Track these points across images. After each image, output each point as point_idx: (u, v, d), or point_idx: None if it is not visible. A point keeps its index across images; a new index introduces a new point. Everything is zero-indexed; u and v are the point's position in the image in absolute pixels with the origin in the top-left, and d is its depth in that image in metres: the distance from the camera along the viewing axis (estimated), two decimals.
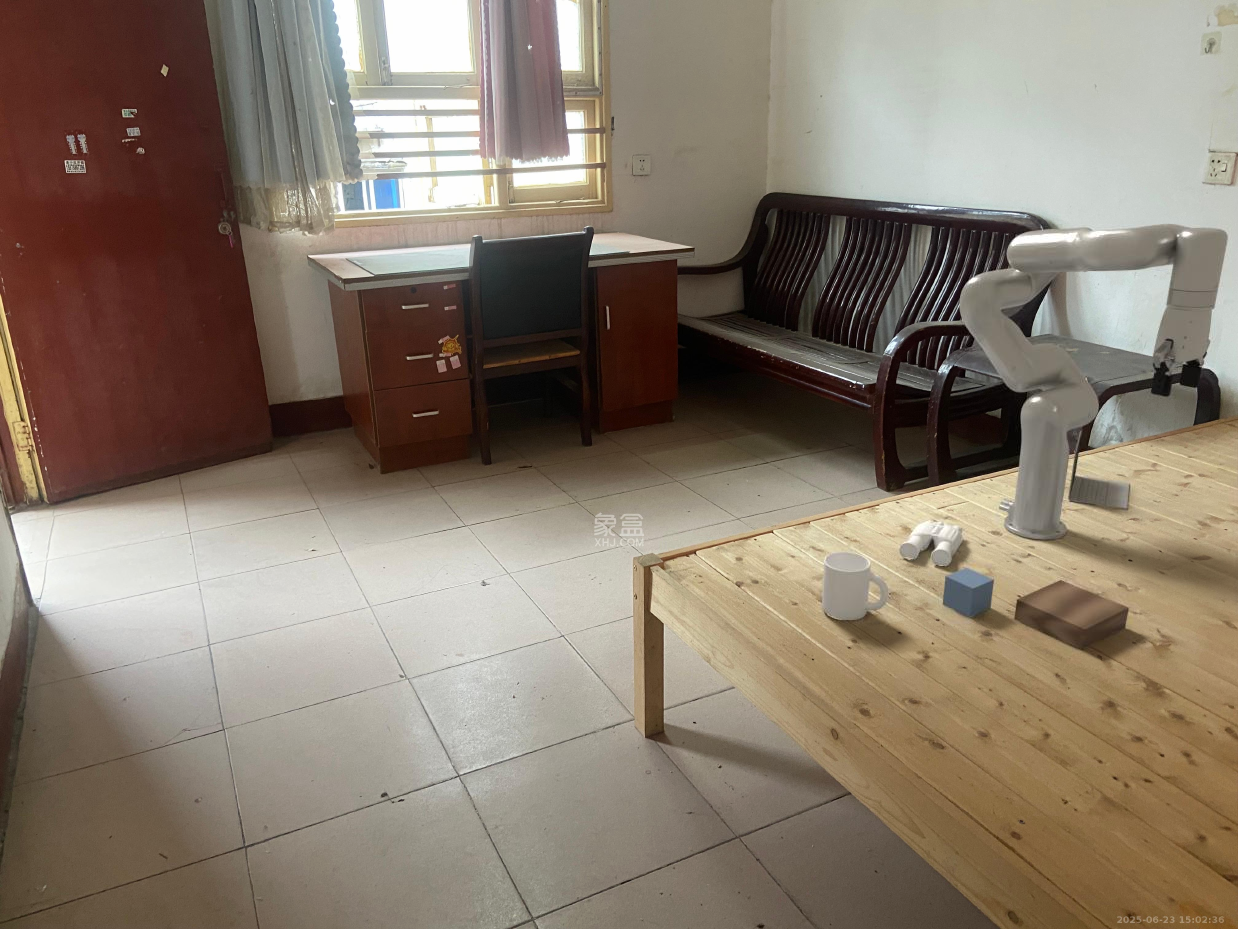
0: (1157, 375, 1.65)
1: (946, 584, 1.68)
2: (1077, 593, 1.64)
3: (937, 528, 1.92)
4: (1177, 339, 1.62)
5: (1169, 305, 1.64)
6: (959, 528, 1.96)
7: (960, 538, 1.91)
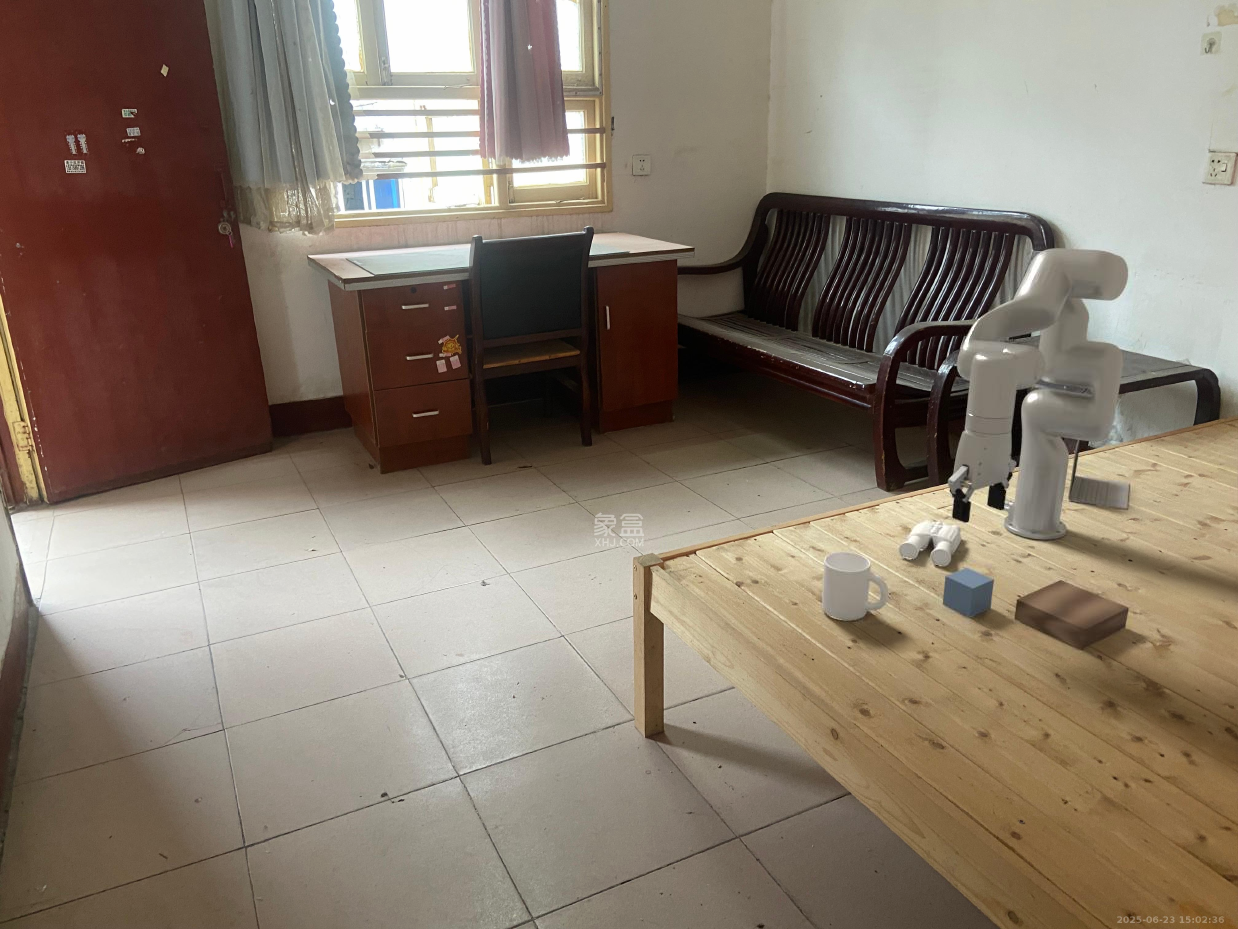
0: (956, 500, 1.59)
1: (946, 584, 1.68)
2: (1077, 593, 1.64)
3: (936, 528, 1.92)
4: (972, 465, 1.56)
5: (966, 429, 1.58)
6: (958, 528, 1.96)
7: (959, 538, 1.91)
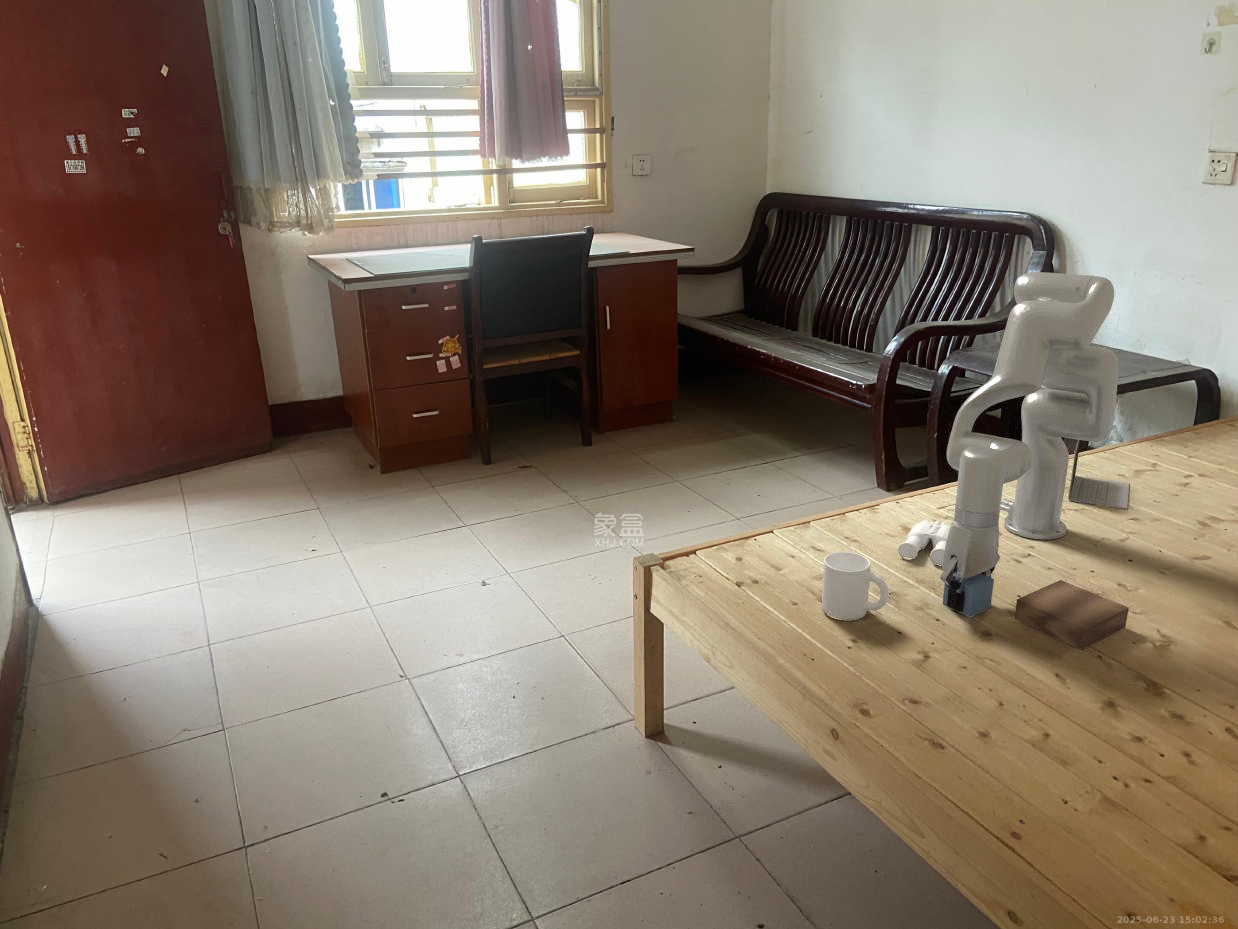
0: (950, 591, 1.66)
1: None
2: (1077, 593, 1.64)
3: (935, 528, 1.92)
4: (960, 557, 1.62)
5: (955, 521, 1.63)
6: None
7: None
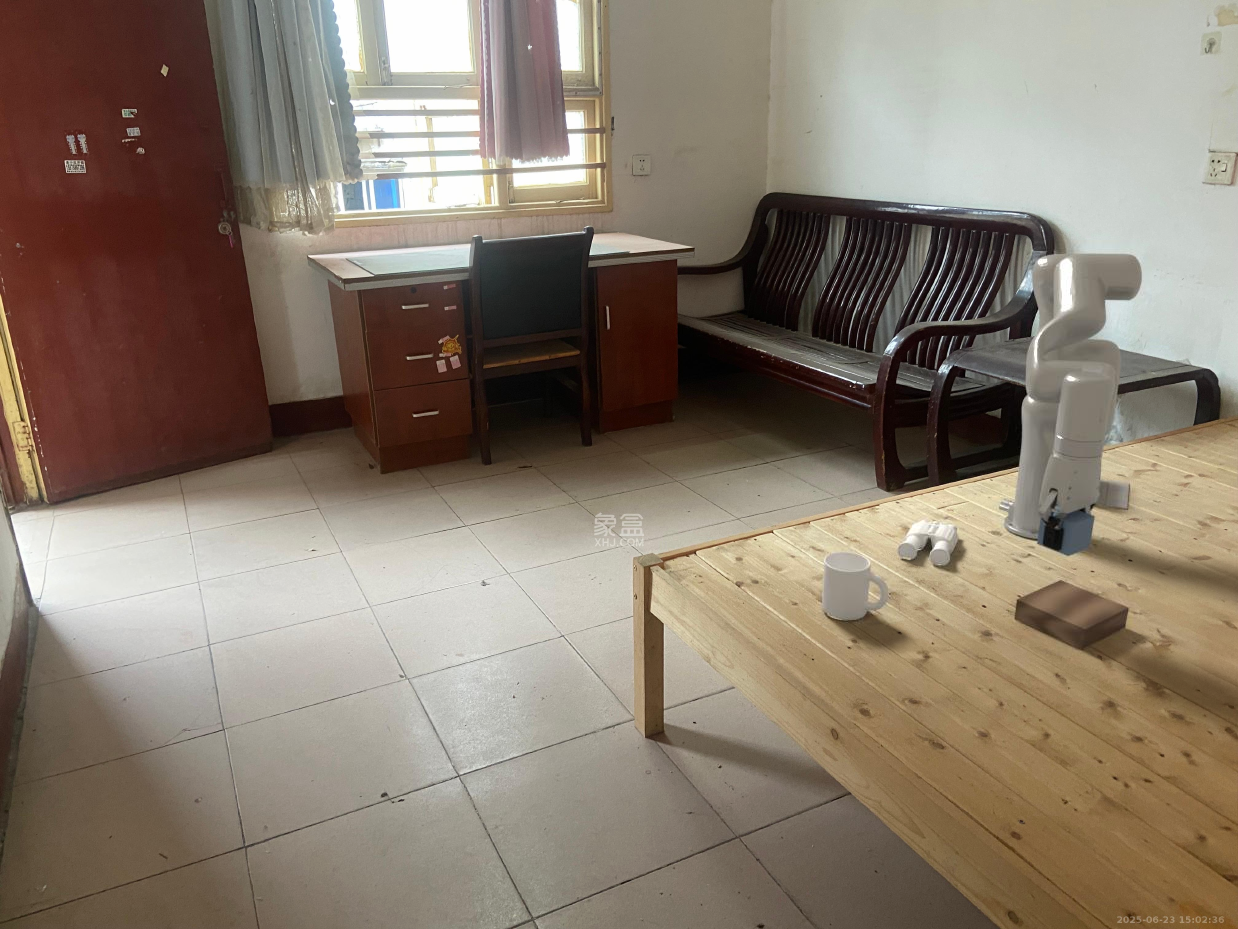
0: (1047, 528, 1.55)
1: (1042, 521, 1.58)
2: (1077, 593, 1.64)
3: (933, 527, 1.93)
4: (1061, 489, 1.51)
5: (1054, 452, 1.53)
6: (954, 527, 1.96)
7: (956, 537, 1.92)
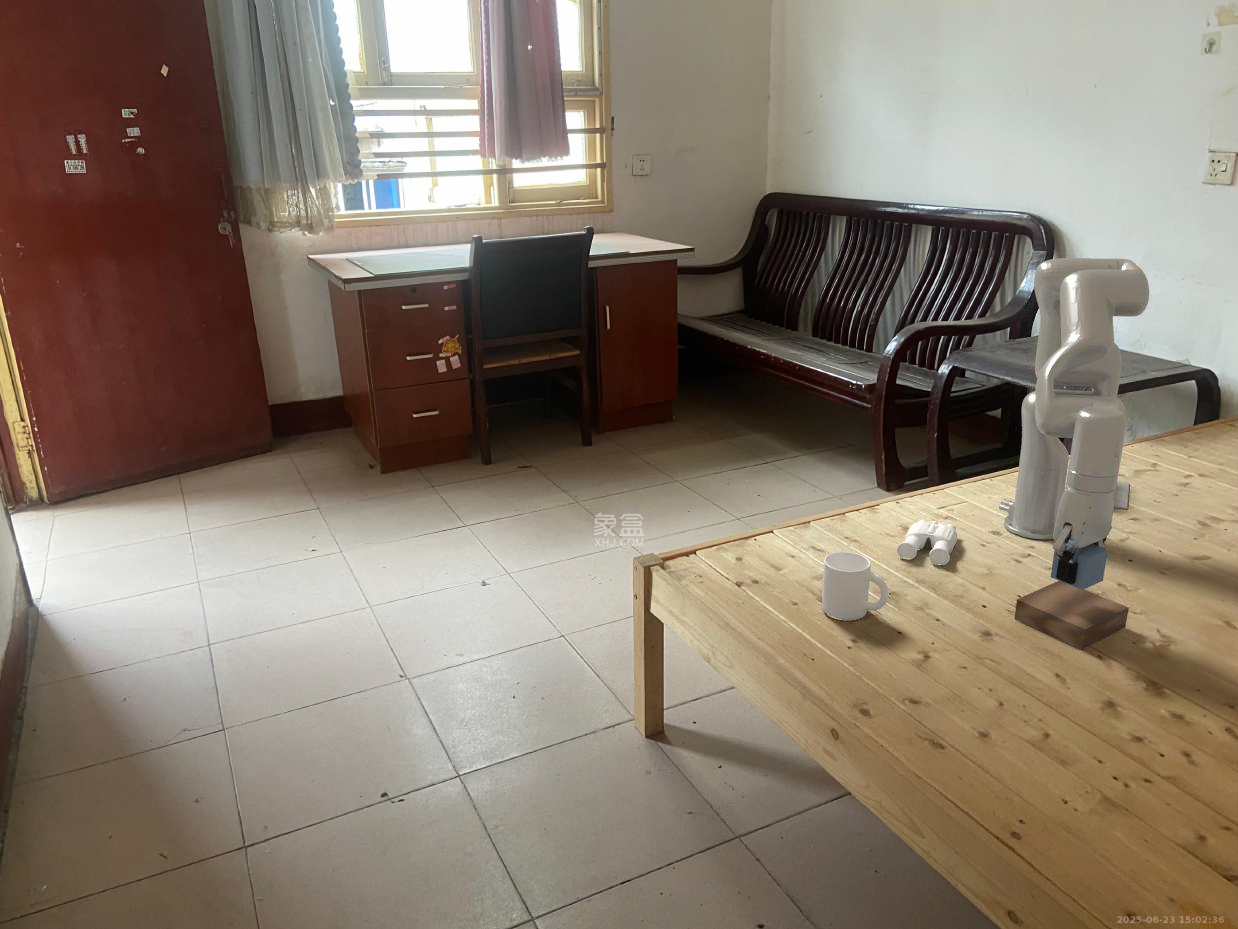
0: (1061, 562, 1.56)
1: (1055, 555, 1.58)
2: (1077, 593, 1.64)
3: (932, 527, 1.93)
4: (1075, 524, 1.52)
5: (1068, 486, 1.53)
6: (953, 526, 1.96)
7: (955, 536, 1.92)
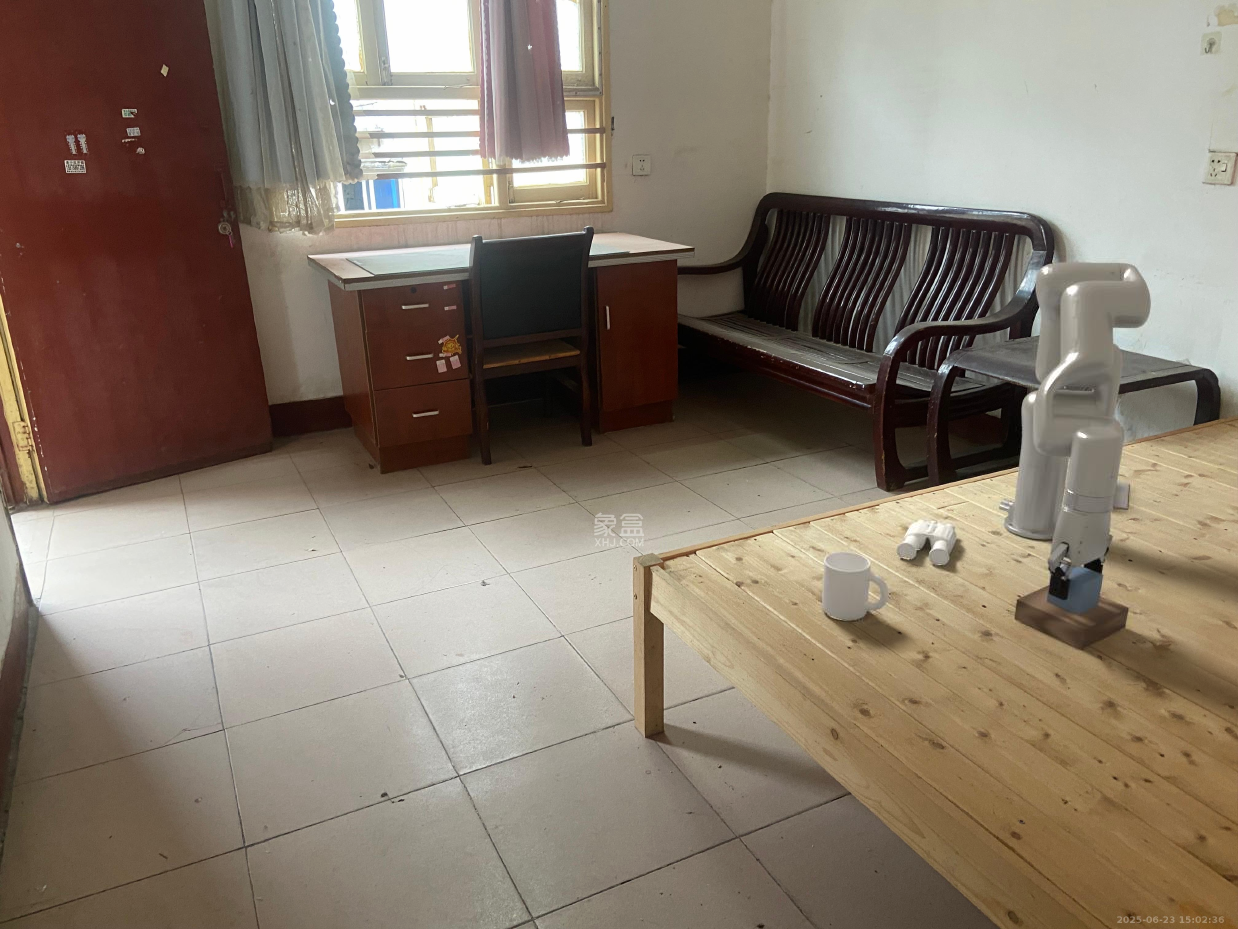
0: (1054, 578, 1.56)
1: None
2: None
3: (932, 527, 1.93)
4: (1072, 544, 1.53)
5: (1065, 506, 1.55)
6: (952, 526, 1.97)
7: (955, 536, 1.92)
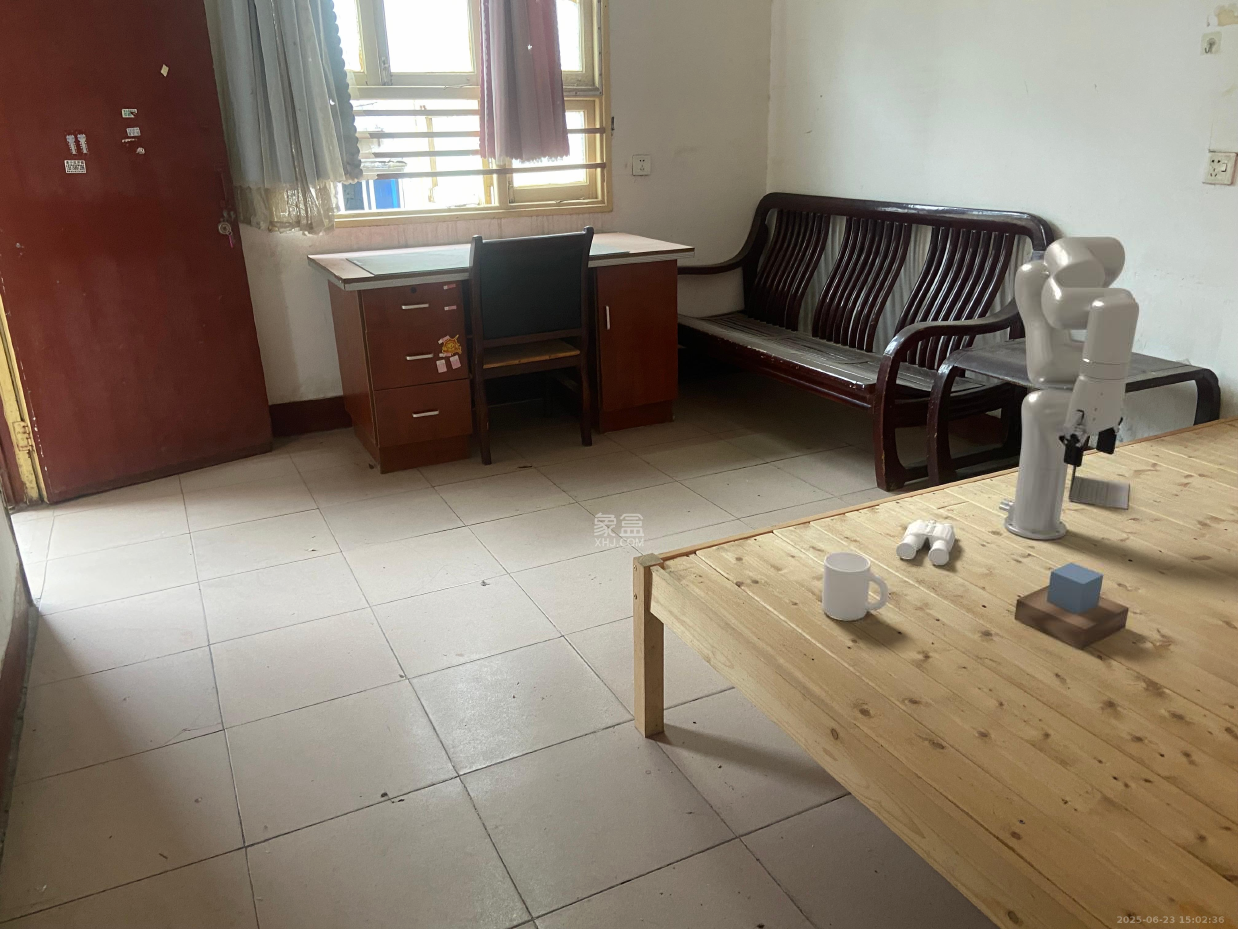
0: (1068, 445, 1.62)
1: (1052, 580, 1.60)
2: None
3: (931, 527, 1.93)
4: (1087, 411, 1.58)
5: (1081, 375, 1.60)
6: (951, 526, 1.97)
7: (954, 536, 1.92)
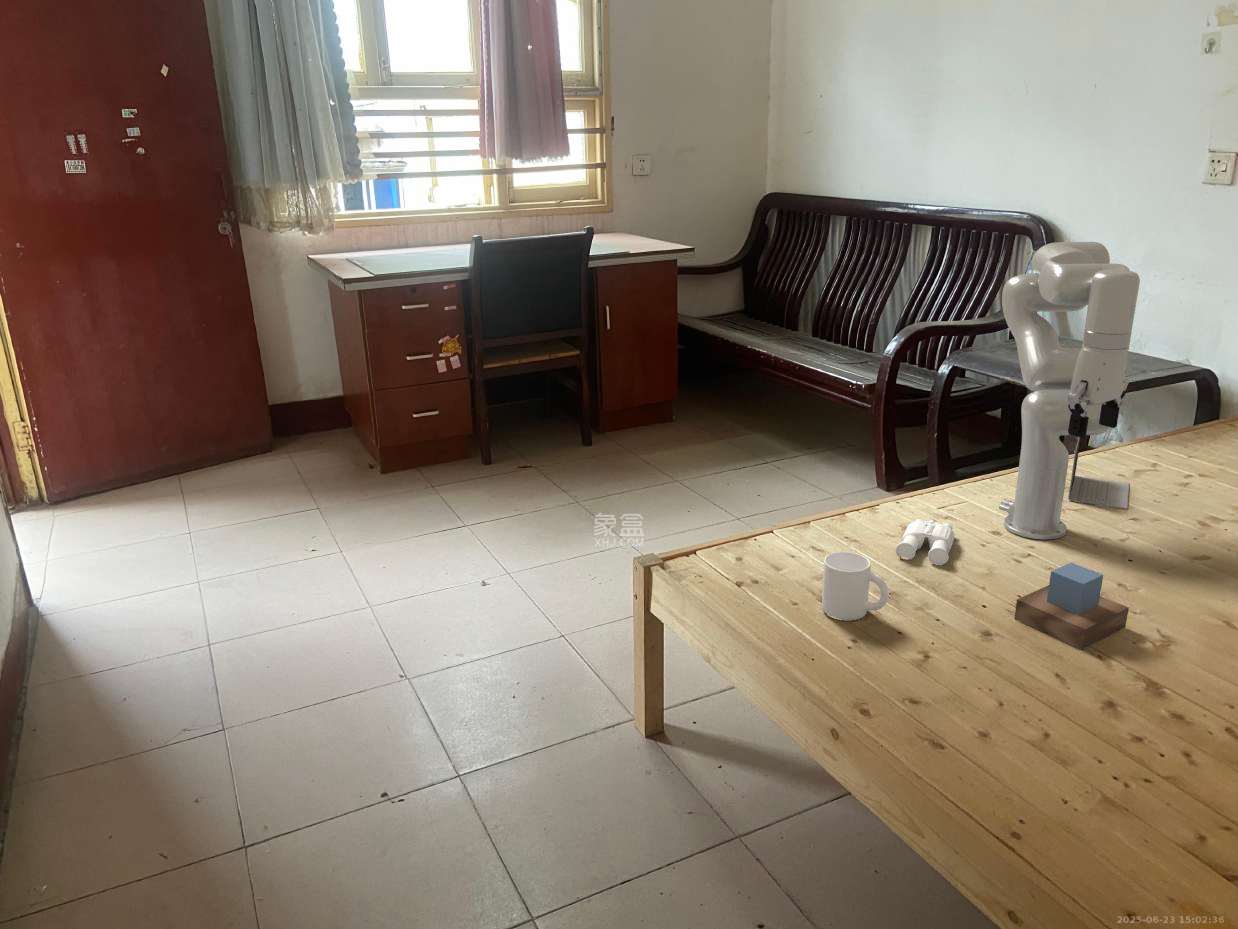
0: (1073, 416, 1.65)
1: (1052, 580, 1.60)
2: None
3: (930, 527, 1.93)
4: (1091, 381, 1.62)
5: (1084, 346, 1.63)
6: (950, 526, 1.97)
7: (953, 536, 1.92)
